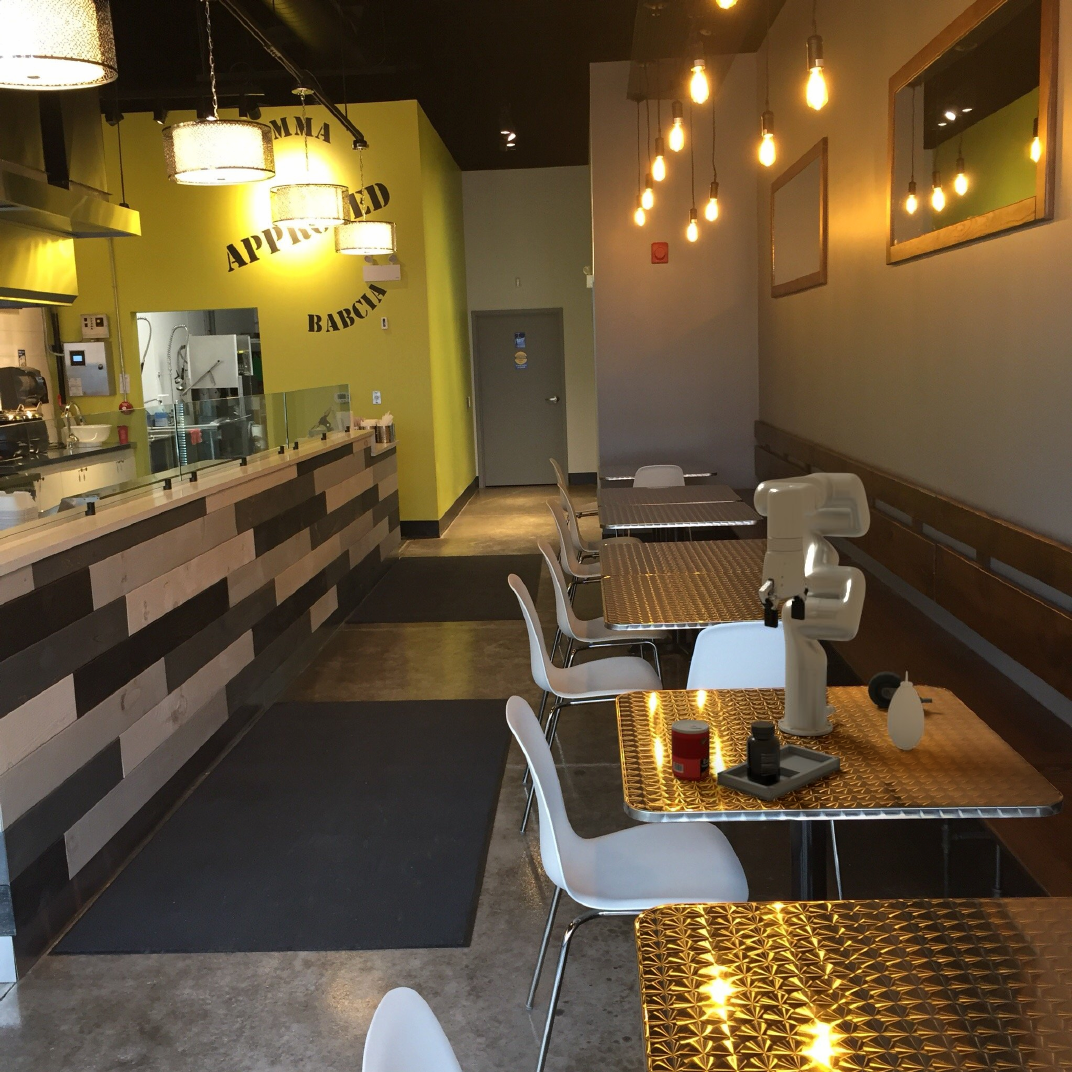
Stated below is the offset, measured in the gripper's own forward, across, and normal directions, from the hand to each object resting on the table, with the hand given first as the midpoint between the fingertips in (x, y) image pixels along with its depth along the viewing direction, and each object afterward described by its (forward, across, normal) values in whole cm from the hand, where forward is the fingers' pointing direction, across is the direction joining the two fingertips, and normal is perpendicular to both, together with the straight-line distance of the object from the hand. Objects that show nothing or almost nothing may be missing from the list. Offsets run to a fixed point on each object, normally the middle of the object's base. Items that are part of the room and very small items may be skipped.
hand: (784, 623), depth 229 cm
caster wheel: (+31, -49, 0) cm, 58 cm away
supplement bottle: (+30, +16, +6) cm, 34 cm away
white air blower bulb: (+31, -23, +16) cm, 41 cm away
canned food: (+31, +22, -8) cm, 38 cm away
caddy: (+30, +10, +6) cm, 32 cm away
